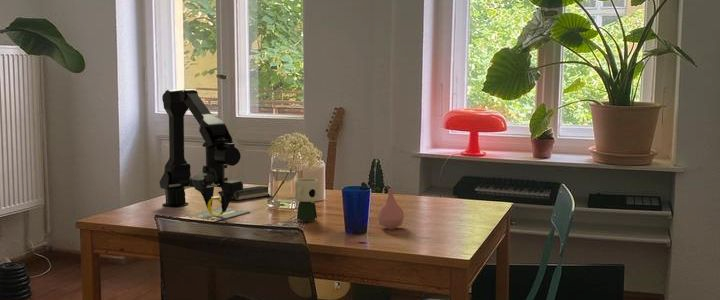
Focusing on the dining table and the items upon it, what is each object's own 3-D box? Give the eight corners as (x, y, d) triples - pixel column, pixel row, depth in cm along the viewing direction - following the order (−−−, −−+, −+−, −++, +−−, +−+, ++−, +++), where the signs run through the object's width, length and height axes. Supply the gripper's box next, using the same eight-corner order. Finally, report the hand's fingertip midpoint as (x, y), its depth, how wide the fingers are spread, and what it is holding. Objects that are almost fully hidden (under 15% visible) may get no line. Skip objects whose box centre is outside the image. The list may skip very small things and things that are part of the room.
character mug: (309, 225, 230) (308, 183, 228) (288, 223, 233) (287, 181, 231) (325, 218, 240) (324, 177, 238) (305, 216, 243) (304, 176, 241)
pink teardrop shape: (385, 224, 231) (385, 185, 230) (408, 227, 227) (408, 187, 226) (373, 229, 225) (373, 189, 223) (396, 232, 221) (396, 192, 219)
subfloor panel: (171, 220, 238) (171, 218, 238) (221, 208, 256) (221, 206, 256) (200, 225, 231) (200, 223, 231) (250, 212, 249) (250, 210, 248)
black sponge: (234, 202, 266) (234, 192, 266) (222, 199, 273) (222, 189, 272) (274, 196, 277) (273, 187, 276) (261, 193, 283) (261, 183, 283)
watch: (227, 215, 242) (226, 196, 241) (221, 217, 239) (221, 198, 238) (211, 213, 244) (211, 195, 243) (206, 215, 242) (205, 196, 241)
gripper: (175, 162, 238) (177, 211, 240) (218, 168, 228) (219, 219, 230) (201, 158, 247) (203, 205, 249) (243, 163, 237) (244, 212, 239)
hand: (216, 210), depth 242 cm, fingers closed on watch, 6 cm apart
